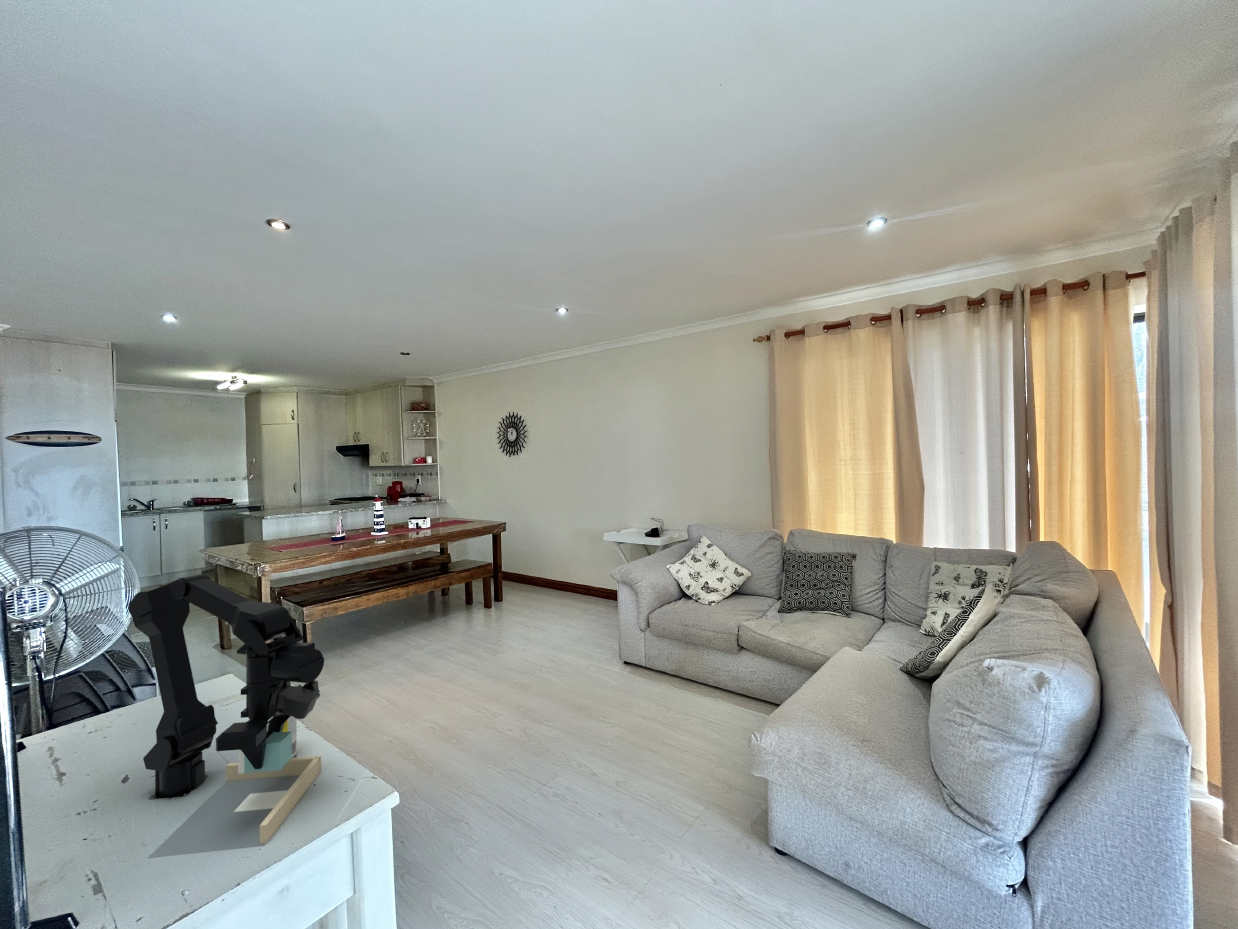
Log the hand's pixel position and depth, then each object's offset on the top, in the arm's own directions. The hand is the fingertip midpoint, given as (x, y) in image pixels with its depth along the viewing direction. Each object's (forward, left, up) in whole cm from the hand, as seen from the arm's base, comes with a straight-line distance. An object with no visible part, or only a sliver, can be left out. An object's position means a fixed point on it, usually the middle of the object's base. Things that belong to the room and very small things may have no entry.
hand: (265, 761), depth 92 cm
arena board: (-2, -2, -8) cm, 8 cm away
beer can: (-5, +15, -8) cm, 18 cm away
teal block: (0, 0, -1) cm, 1 cm away
